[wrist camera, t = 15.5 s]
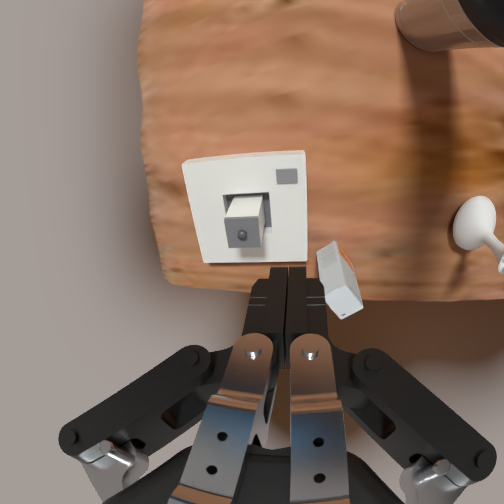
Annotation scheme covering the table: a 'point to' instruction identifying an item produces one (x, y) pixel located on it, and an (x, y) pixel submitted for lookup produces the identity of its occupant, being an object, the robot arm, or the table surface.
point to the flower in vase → (478, 227)
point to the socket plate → (244, 184)
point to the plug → (245, 222)
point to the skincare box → (338, 280)
